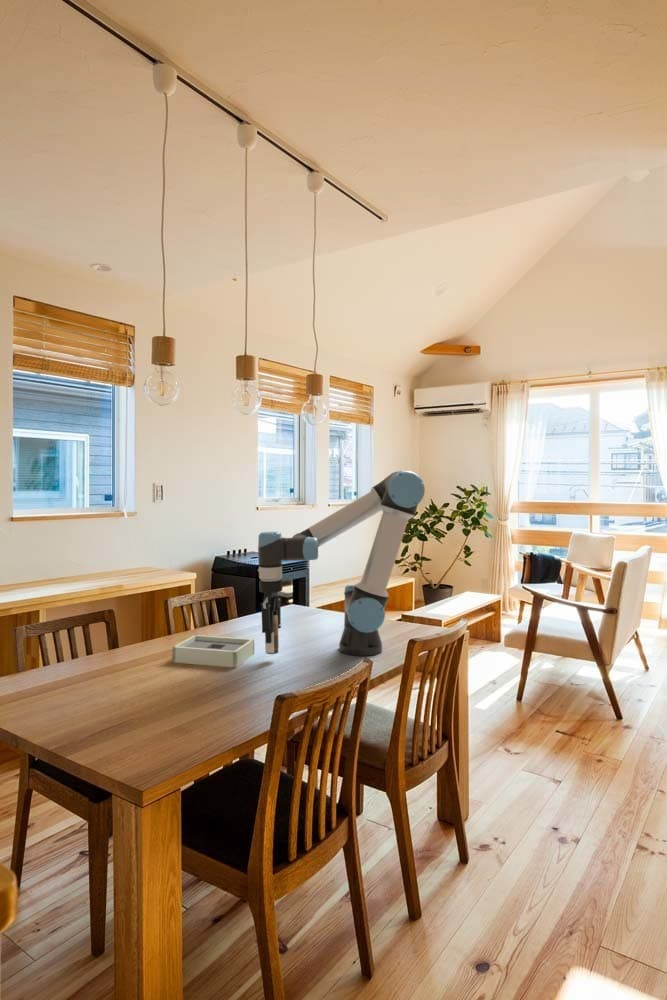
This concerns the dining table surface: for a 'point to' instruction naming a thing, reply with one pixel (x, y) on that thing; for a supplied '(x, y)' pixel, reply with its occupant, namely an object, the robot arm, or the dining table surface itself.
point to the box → (213, 651)
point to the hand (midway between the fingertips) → (272, 650)
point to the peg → (275, 634)
